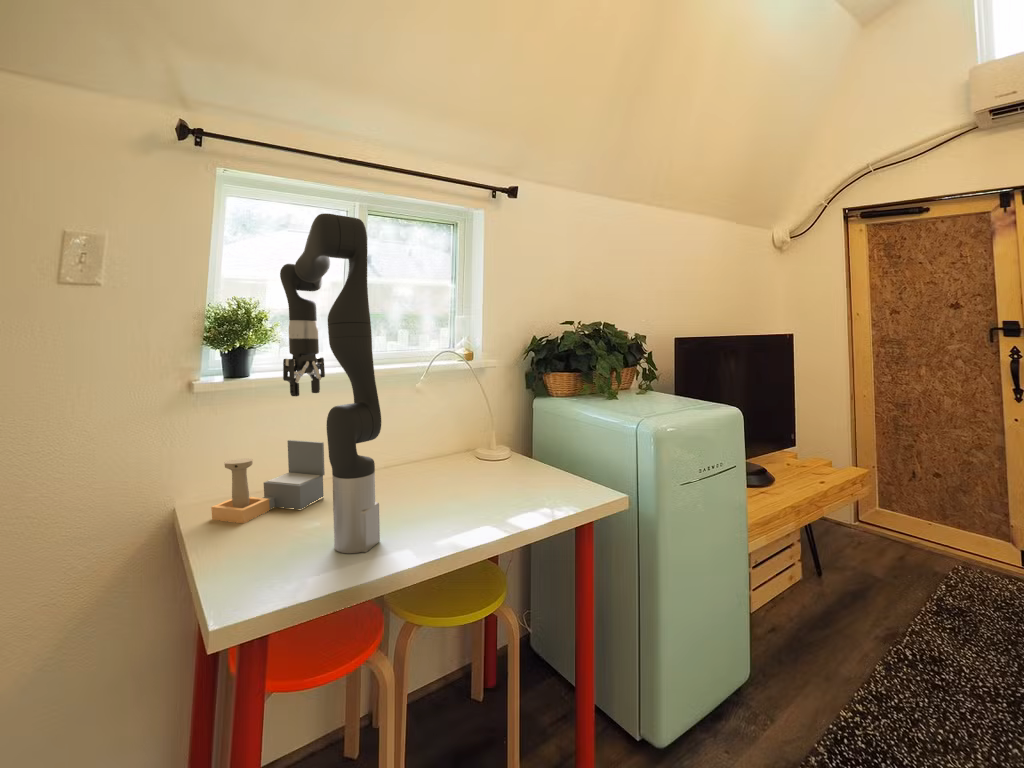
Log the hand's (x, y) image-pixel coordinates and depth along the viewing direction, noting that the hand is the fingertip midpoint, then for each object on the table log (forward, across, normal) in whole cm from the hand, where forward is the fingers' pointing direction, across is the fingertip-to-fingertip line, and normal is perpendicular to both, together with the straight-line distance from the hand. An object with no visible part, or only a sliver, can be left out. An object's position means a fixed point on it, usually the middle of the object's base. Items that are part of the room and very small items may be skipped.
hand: (305, 394), depth 127 cm
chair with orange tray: (+32, -5, +8) cm, 34 cm away
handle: (+32, -12, +12) cm, 36 cm away
